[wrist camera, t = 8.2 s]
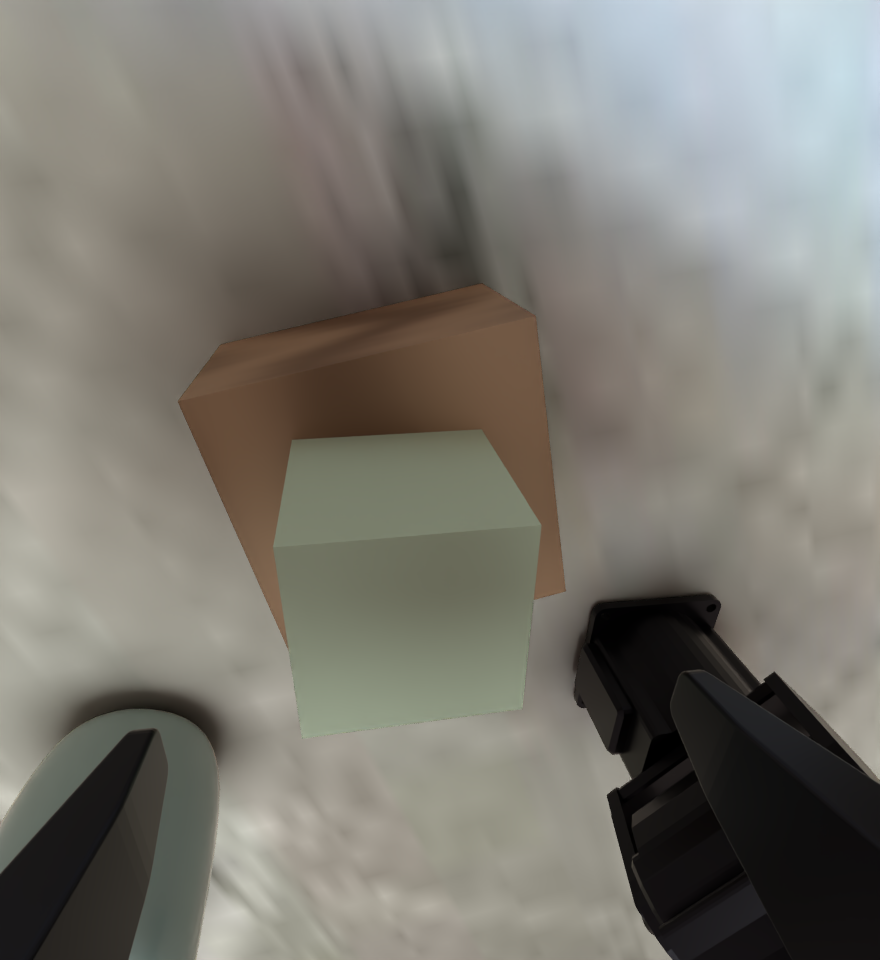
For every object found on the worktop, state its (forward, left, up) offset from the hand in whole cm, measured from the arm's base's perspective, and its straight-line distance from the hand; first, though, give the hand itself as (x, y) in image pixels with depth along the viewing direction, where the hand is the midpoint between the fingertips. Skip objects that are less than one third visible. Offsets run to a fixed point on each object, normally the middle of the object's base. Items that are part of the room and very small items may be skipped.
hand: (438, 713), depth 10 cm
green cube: (0, 0, -7) cm, 7 cm away
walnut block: (0, 0, -13) cm, 13 cm away
